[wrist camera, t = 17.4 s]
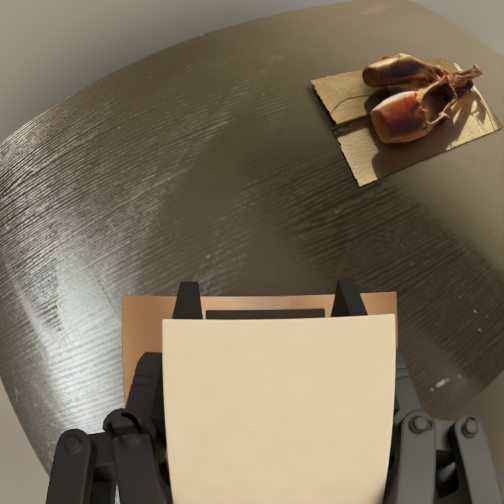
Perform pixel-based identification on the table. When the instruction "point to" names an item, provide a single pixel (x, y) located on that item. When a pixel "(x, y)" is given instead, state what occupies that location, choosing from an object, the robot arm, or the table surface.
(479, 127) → the ballet pointe shoes
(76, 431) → the robot arm
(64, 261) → the table surface
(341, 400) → the beige block black base
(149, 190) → the table surface
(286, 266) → the table surface
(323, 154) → the table surface
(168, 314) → the shoe shelf
